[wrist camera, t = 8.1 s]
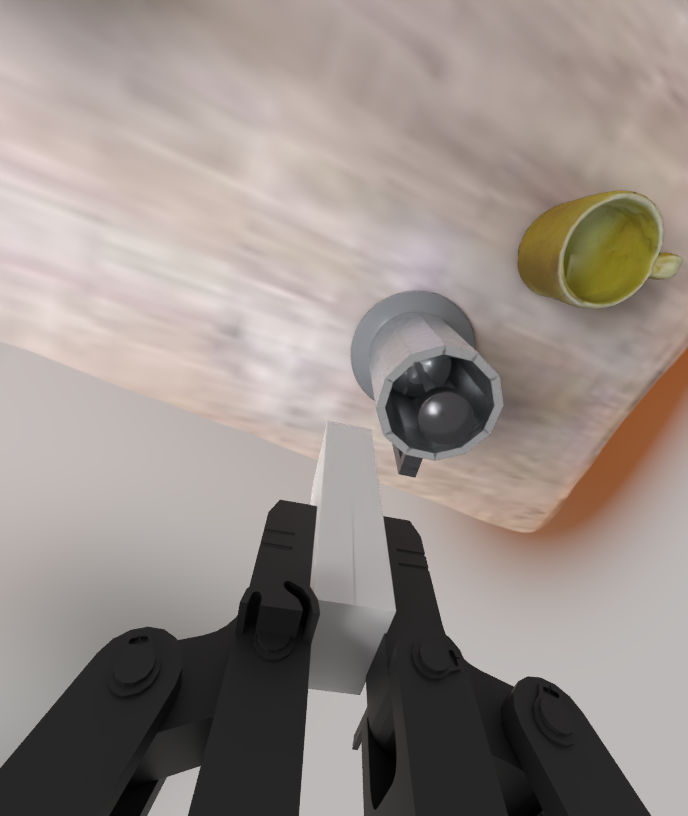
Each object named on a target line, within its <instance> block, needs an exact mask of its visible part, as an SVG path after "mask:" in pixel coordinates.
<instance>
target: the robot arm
mask: <svg viewBox="0 0 688 816" xmlns="http://www.w3.org/2000/svg"><path fill="white" fill-rule="evenodd" d="M424 554H425V552H424V548H423V544H422V540H421V537H420V535H419V533H418V532H417V531H416V529H415V528H414V526H413V525H412V524H411V522H410V521H408V520H402V519H396V518H390V517H385V516H383V512H382V504H381V497H380V489H379V482H378V474H377V467H376V460H375V452H374V445H373V438H372V430H371V429H367V428H362V427H356V426H351V425H346V424H341V423H336V422H331V421H327V425H326V430H325V434H324V438H323V443H322V447H321V451H320V456H319V460H318V464H317V469H316V473H315V477H314V482H313V487H312V495H311V504H310V505H308V504H302V503H296V502H290V501H284V500H279V502H278V503H277V504H276V505H275V506H274V507H273V508H272V509H271V510H270V511H269V513H268V516H267V521H266V524H265V529H264V532H263V536H262V540H261V544H260V548H259V551H258V555H257V559H256V563H255V567H254V571H253V575H252V579H251V583H250V587H249V588H247V589H246V591H245V593H244V595H243V597H242V599H241V601H240V606H239V611H238V615H237V617H236V618H235V619H234V620H232V621H231V622H230V623H229V624H228V625H227V626H225V627H223V628H222V629H220V630H218V631H216V632H213V633H210V634H206V635H203V636H198V637H193V638H187V639H182V640H177V639H176V638H175V637H174V636H173V635H171V634H170V633H168V632H167V631H165V630H164V629H158V628H152V627H145V628H139V629H134V630H130V631H128V632H126V633H124V634H122V635H120V636H118V637H116V638H114V639H112V640H111V641H110V642H109V643H108V644H107V645H106V646H105V647H103V648H102V649H101V650H100V651H99V652H98V653H97V654H96V655H95V656H94V658H93V659H92V660H91V661H90V662H89V663H88V665H87V666H86V667H85V668H84V669H83V671H82V672H81V673H80V674H79V675H78V677H77V678H76V679H75V680H74V681H73V682H72V684H71V685H70V686H69V687H68V688H67V690H66V691H65V692H64V693H63V694H62V696H61V697H60V698H59V699H58V700H57V702H56V703H55V704H54V705H53V706H52V707H51V709H50V710H49V711H48V713H46V715H45V716H44V717H43V718H42V719H41V720H40V722H39V723H38V724H37V725H36V726H35V728H34V729H33V730H32V731H31V732H30V734H29V735H28V736H27V737H26V738H25V740H24V741H23V742H22V743H21V744H20V745H19V747H18V748H17V749H16V750H15V751H14V753H13V754H12V755H11V756H10V757H9V758H8V760H7V761H6V762H5V763H4V765H3V766H2V767H1V768H0V816H147V815H148V813H149V811H150V809H151V807H152V805H153V803H154V801H155V799H156V797H157V795H158V793H159V791H160V789H161V787H162V786H163V784H164V782H165V780H166V778H167V777H168V776H171V775H174V774H177V773H180V772H183V771H186V770H189V769H192V768H195V767H199V766H201V767H200V771H199V775H198V779H197V783H196V787H195V791H194V794H193V798H192V802H191V806H190V810H189V814H188V816H299V806H300V792H301V778H302V764H303V750H304V736H305V723H306V710H307V694H308V689H316V690H324V691H333V692H340V693H348V694H356V695H360V694H361V692H362V689H363V687H364V685H365V682H366V689H367V709H366V711H365V713H364V715H363V717H362V720H361V722H360V724H359V726H358V728H357V731H356V733H355V735H354V741H353V748H352V749H354V750H358V748H359V746H360V744H361V742H362V765H363V766H362V768H363V795H364V796H363V798H364V816H651V815H650V813H649V812H648V811H647V809H646V808H645V806H644V804H643V803H642V801H641V800H640V798H639V797H638V795H637V794H636V793H635V791H634V789H633V788H632V786H631V785H630V783H629V782H628V780H627V779H626V777H625V776H624V774H623V773H622V771H621V770H620V768H619V767H618V765H617V764H616V762H615V761H614V759H613V758H612V756H611V755H610V753H609V751H608V750H607V748H606V747H605V746H604V744H603V742H602V741H601V739H600V738H599V736H598V735H597V733H596V732H595V730H594V729H593V727H592V726H591V724H590V723H589V721H588V720H587V718H586V717H585V715H584V714H583V712H582V711H581V710H580V709H579V708H578V706H577V705H576V704H575V702H574V701H573V700H572V699H571V698H570V696H568V695H567V694H566V693H565V692H563V691H562V690H561V689H560V688H559V687H557V686H556V685H555V684H553V683H551V682H548V681H546V680H544V679H542V678H539V677H526V678H524V679H522V680H520V681H518V683H517V684H516V685H515V686H514V687H513V686H511V685H509V684H507V683H505V682H503V681H501V680H499V679H497V678H495V677H493V676H490V675H489V674H487V673H484V672H482V671H480V670H479V669H477V668H475V667H474V666H472V665H471V664H469V663H468V662H467V661H466V660H464V658H463V656H462V654H461V652H460V650H459V649H458V647H457V646H456V645H455V644H454V642H453V641H452V640H451V639H450V638H449V637H448V636H447V635H446V634H445V631H444V629H443V625H442V621H441V617H440V613H439V609H438V605H437V601H436V597H435V593H434V589H433V585H432V581H431V577H430V573H429V571H428V565H427V561H426V557H425V556H424Z"/></svg>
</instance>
